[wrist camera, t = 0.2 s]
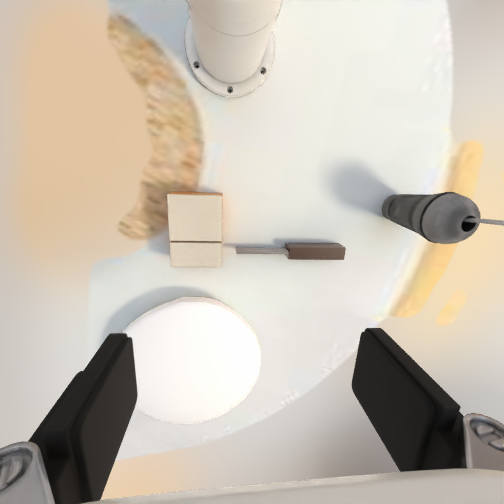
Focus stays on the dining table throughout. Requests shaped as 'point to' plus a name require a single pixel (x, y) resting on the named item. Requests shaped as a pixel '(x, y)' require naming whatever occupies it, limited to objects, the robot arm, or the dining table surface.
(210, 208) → the cake
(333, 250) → the knife
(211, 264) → the cake slice
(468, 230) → the beverage cup
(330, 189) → the dining table surface
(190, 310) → the white round disc
